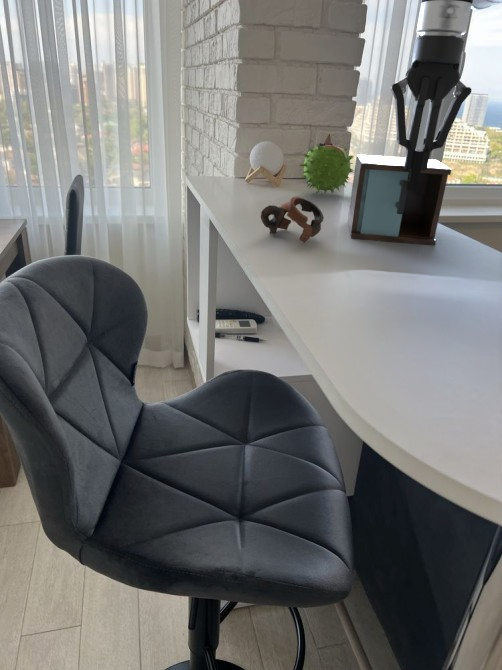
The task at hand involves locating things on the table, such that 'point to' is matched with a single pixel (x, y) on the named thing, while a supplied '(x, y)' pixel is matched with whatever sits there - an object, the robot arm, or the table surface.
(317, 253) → the table surface
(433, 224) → the display cabinet
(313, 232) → the two-tone looped frame
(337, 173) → the chestnut
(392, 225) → the glass door
